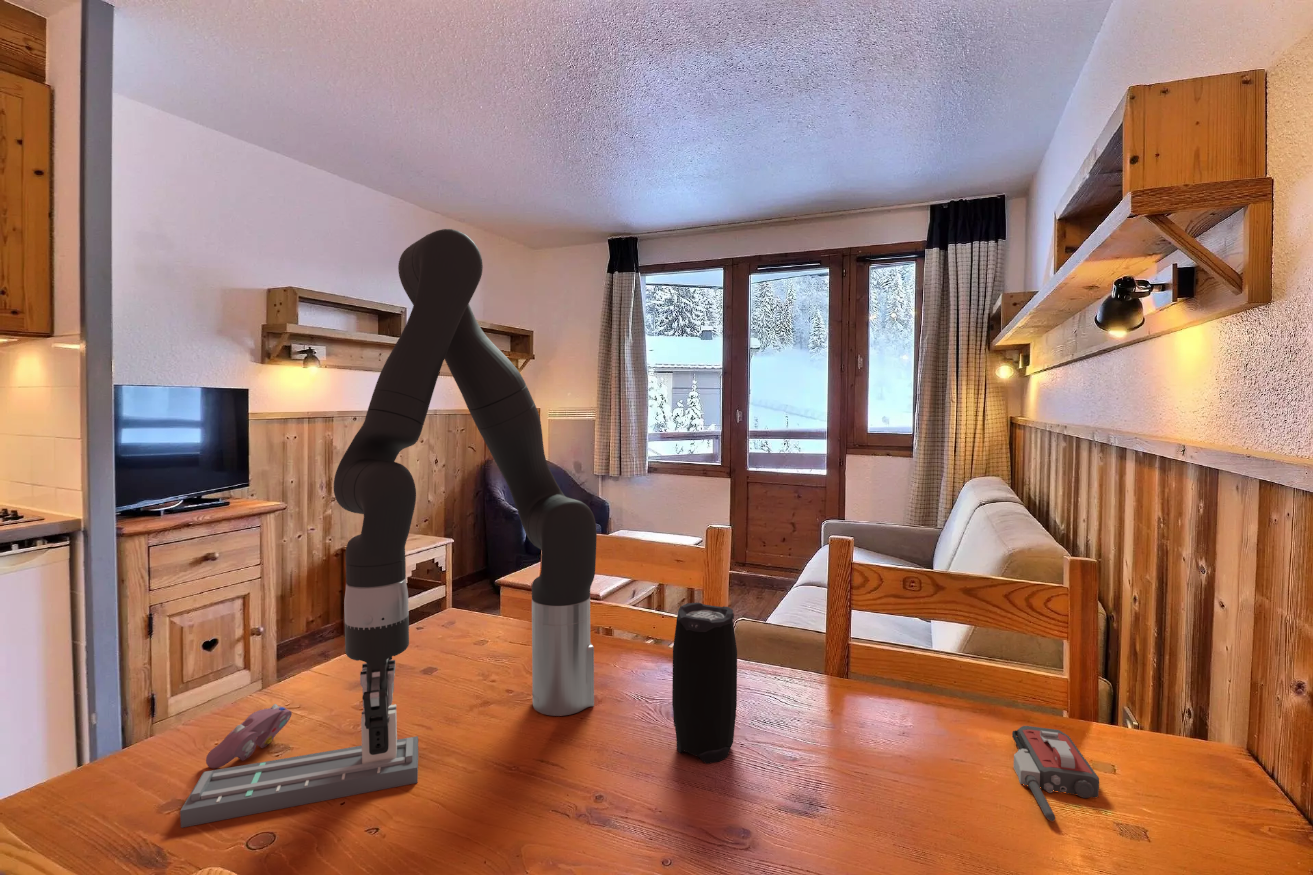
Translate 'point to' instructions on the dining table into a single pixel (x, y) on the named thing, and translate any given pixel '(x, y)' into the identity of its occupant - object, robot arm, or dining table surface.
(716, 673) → the portable speaker
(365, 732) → the fader tab
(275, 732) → the video game controller
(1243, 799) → the dining table surface
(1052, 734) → the walkie-talkie
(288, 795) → the fader console
